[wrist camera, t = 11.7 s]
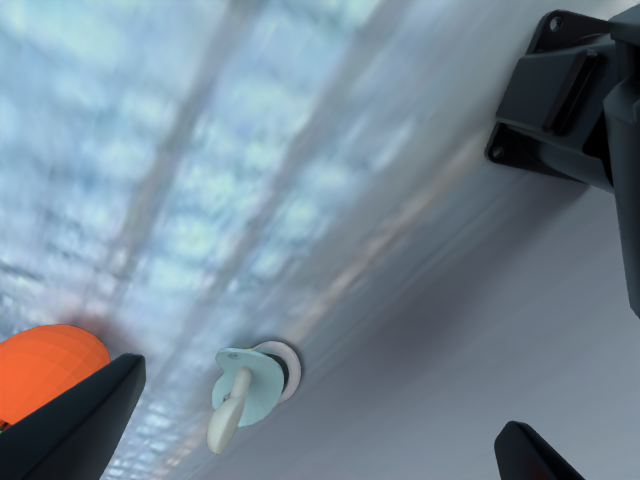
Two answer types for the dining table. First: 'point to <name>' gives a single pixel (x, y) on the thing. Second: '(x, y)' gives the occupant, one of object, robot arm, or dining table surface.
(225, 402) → the pacifier
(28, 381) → the clementine
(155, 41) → the dining table surface
